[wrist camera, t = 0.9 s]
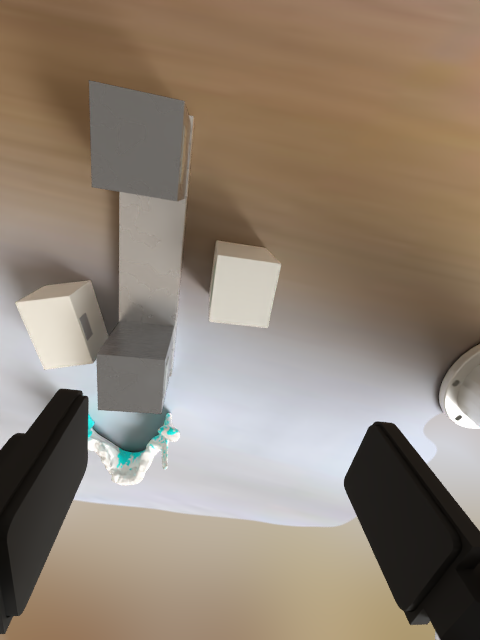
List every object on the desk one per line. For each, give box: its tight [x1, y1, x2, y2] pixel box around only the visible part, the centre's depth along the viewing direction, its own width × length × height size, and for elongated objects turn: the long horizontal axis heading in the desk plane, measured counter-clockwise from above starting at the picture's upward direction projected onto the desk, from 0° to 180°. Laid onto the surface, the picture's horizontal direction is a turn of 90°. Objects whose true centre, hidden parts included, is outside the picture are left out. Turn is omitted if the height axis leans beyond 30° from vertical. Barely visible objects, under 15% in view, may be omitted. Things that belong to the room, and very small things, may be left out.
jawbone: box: [88, 413, 180, 486], centre depth 30 cm, size 12×8×9 cm, turn 88°
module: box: [209, 240, 281, 328], centre depth 24 cm, size 5×5×6 cm
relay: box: [15, 280, 108, 370], centre depth 26 cm, size 4×6×4 cm
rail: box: [89, 80, 194, 414], centre depth 23 cm, size 5×22×8 cm, turn 171°
